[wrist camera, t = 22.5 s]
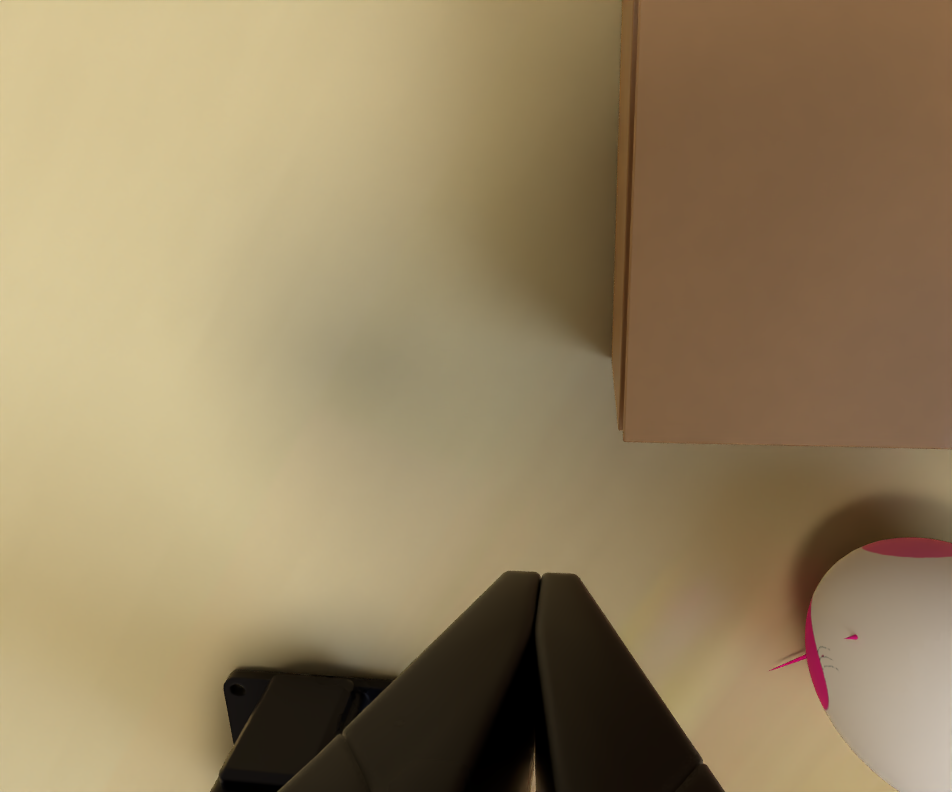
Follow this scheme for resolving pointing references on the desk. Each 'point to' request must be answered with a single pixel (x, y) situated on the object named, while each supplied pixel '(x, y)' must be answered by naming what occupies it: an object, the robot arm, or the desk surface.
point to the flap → (791, 224)
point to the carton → (624, 197)
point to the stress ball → (888, 658)
